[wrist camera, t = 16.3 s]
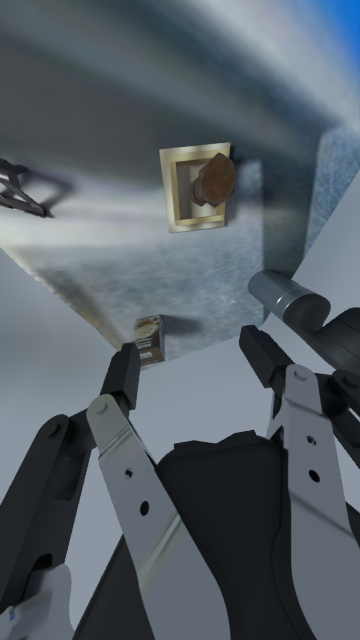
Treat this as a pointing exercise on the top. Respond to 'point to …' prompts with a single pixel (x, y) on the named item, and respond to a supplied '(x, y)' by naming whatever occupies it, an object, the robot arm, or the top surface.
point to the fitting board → (177, 178)
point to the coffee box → (149, 339)
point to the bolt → (214, 181)
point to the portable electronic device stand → (17, 191)
